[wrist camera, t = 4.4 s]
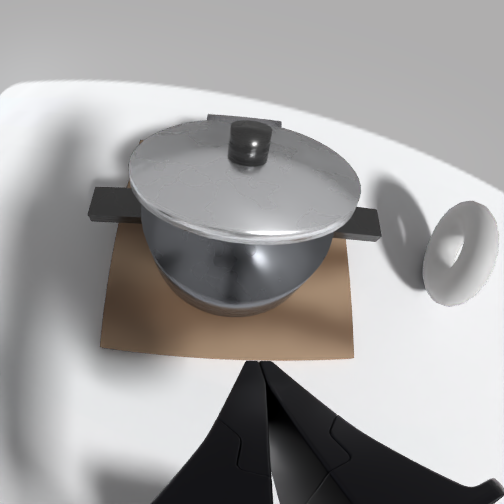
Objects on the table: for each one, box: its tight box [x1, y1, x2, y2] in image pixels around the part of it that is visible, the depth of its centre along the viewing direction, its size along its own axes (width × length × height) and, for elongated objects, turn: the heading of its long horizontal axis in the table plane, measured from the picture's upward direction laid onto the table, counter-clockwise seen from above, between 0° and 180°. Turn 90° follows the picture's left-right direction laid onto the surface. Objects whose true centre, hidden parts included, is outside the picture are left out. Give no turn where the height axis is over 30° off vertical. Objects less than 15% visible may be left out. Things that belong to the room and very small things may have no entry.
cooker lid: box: [129, 114, 361, 245], centre depth 18 cm, size 15×14×3 cm
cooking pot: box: [88, 187, 381, 317], centre depth 24 cm, size 14×22×5 cm, turn 89°
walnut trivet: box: [100, 140, 354, 361], centre depth 26 cm, size 20×20×1 cm
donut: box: [423, 201, 499, 307], centre depth 24 cm, size 10×3×10 cm, turn 159°
